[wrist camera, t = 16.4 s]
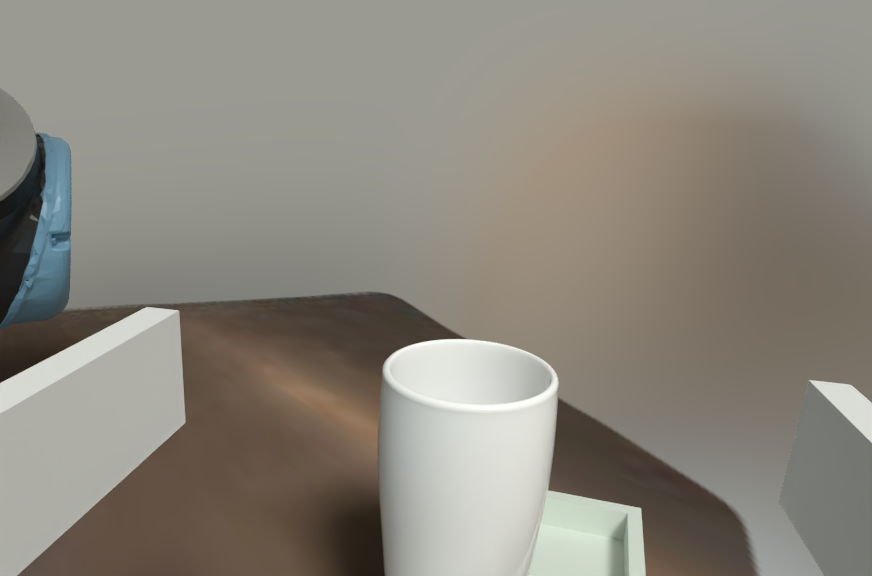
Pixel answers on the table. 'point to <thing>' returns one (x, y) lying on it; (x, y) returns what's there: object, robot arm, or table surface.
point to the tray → (588, 538)
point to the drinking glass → (464, 457)
